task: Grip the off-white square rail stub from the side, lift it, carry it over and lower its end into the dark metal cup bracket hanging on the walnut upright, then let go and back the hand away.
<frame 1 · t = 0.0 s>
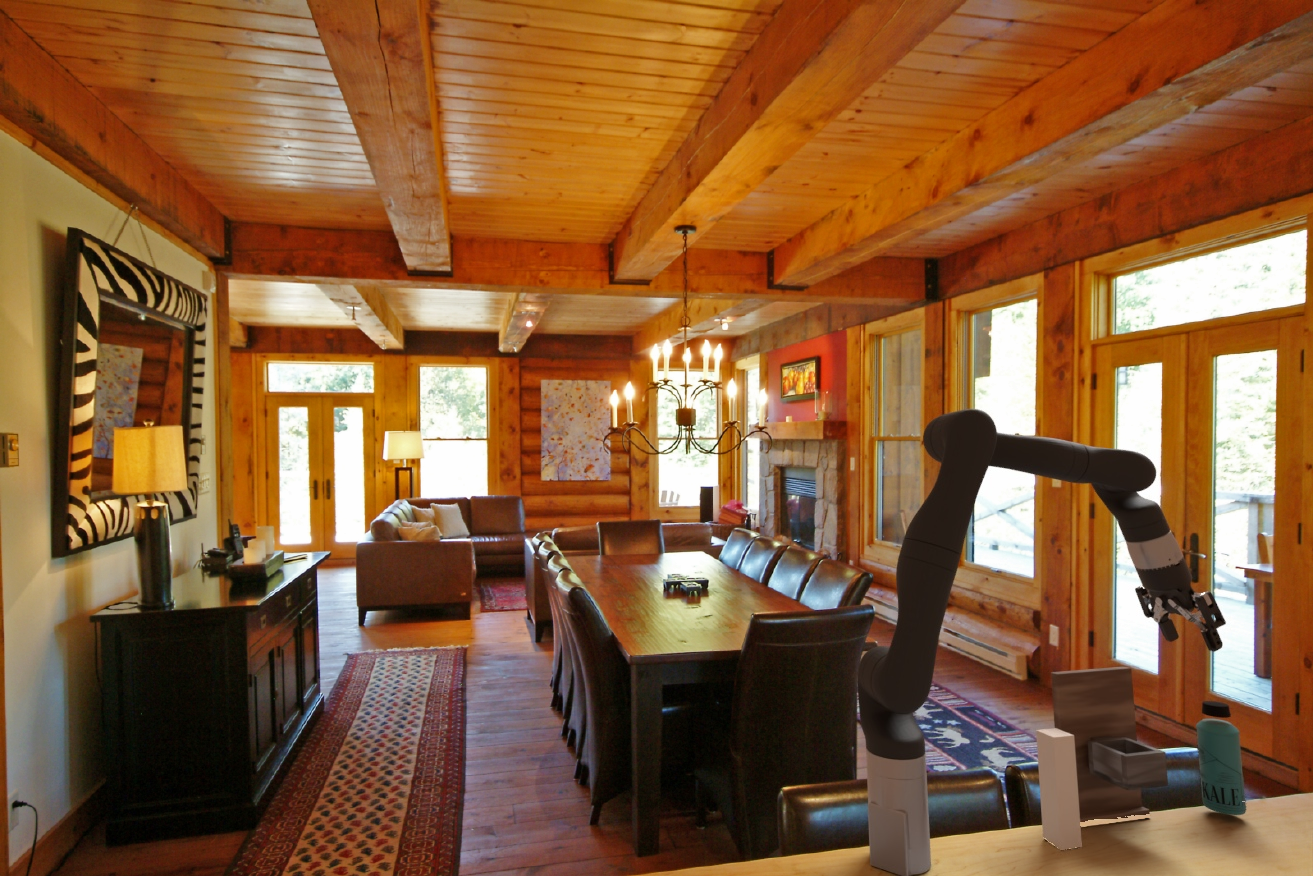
hand: (1194, 644, 125), 31 cm above the counter, tool tilted 20°, fingers open, 8 cm apart
cup bracket: (1132, 833, 122), on the counter
beverage bottle: (1225, 818, 127), on the counter
rail stub: (1062, 843, 119), on the counter
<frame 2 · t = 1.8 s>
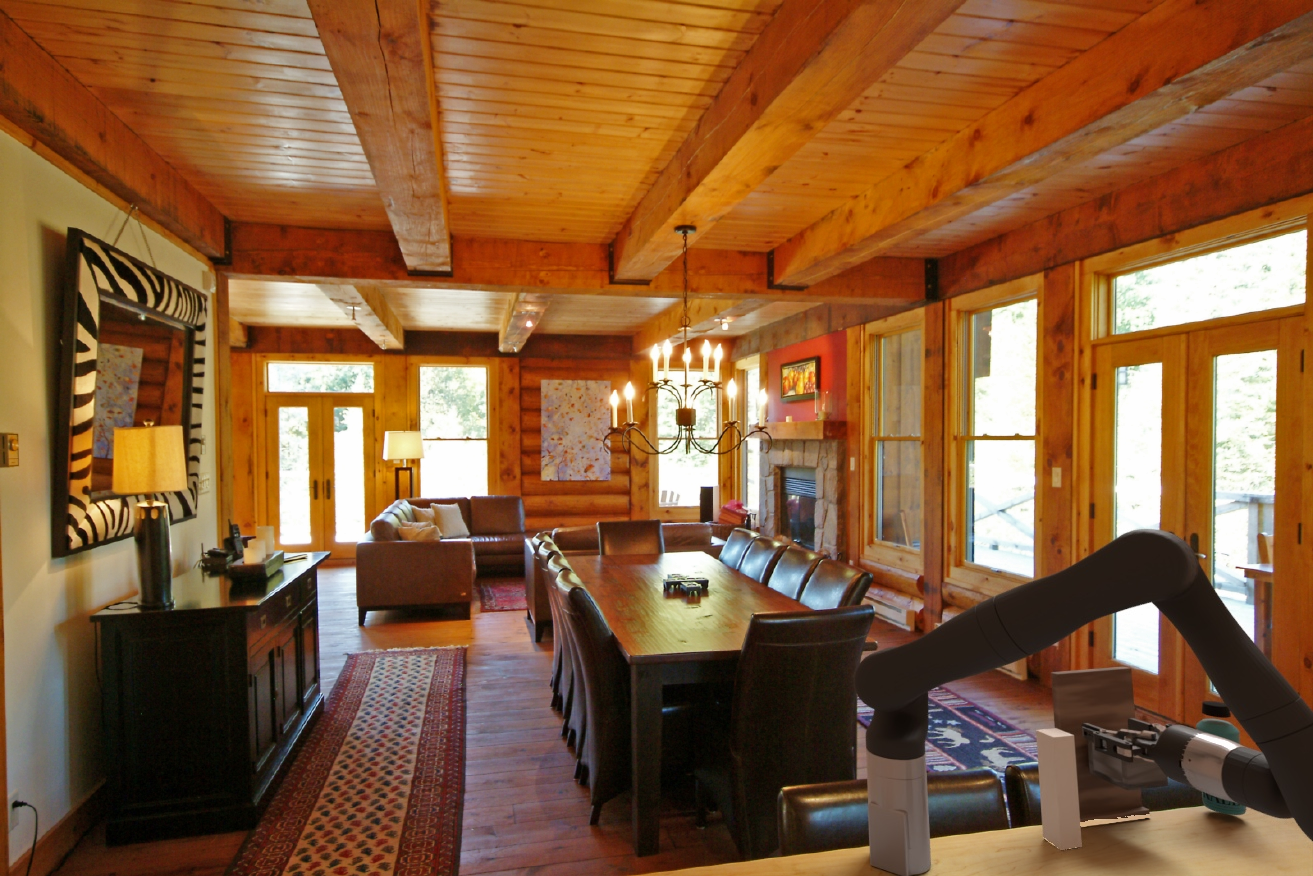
hand: (1106, 727, 110), 22 cm above the counter, tool horizontal, fingers open, 8 cm apart
nothing on the counter moved.
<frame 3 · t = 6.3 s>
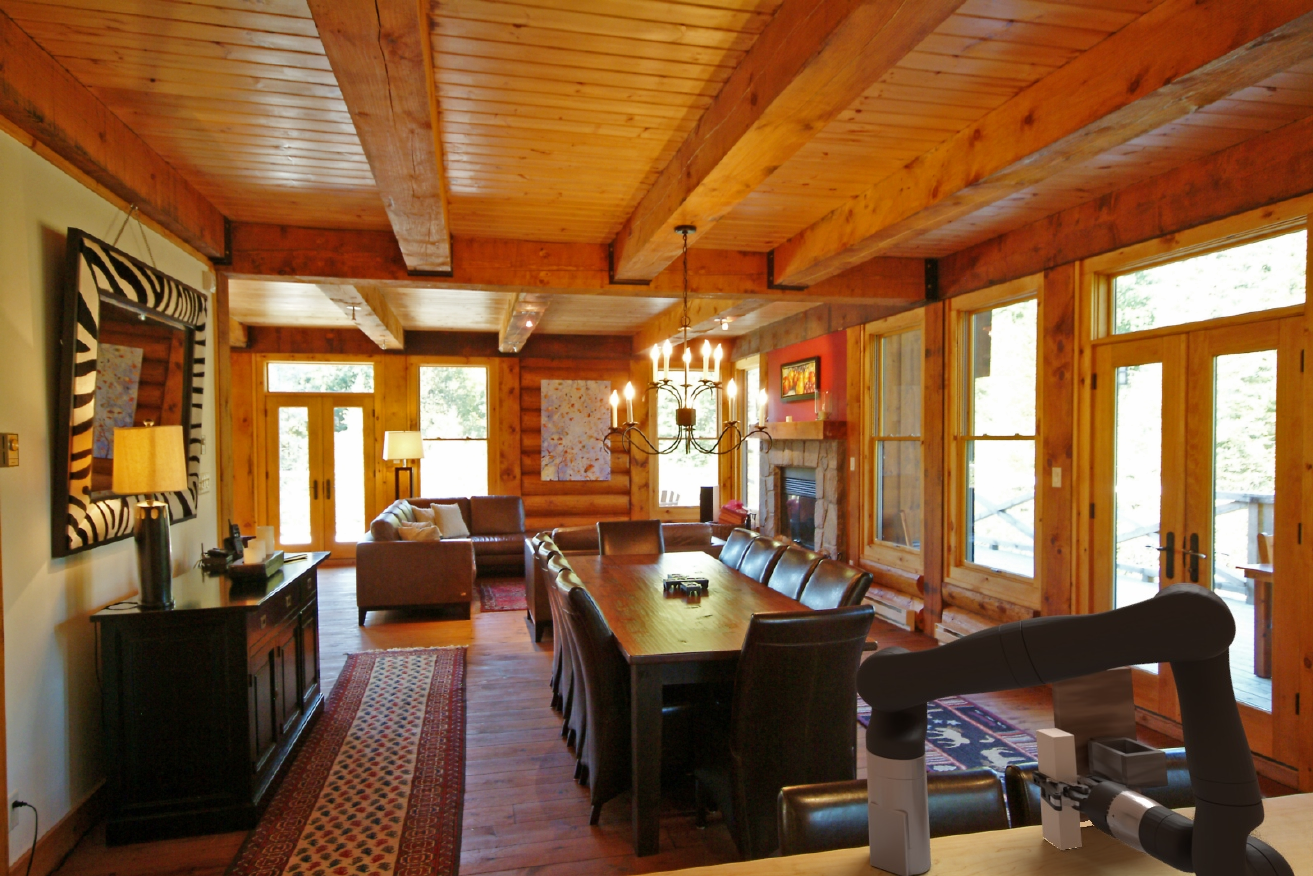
hand: (1045, 775, 122), 10 cm above the counter, tool horizontal, fingers closed on rail stub, 4 cm apart
rail stub: (1062, 843, 119), on the counter, touching gripper
everything else where it was.
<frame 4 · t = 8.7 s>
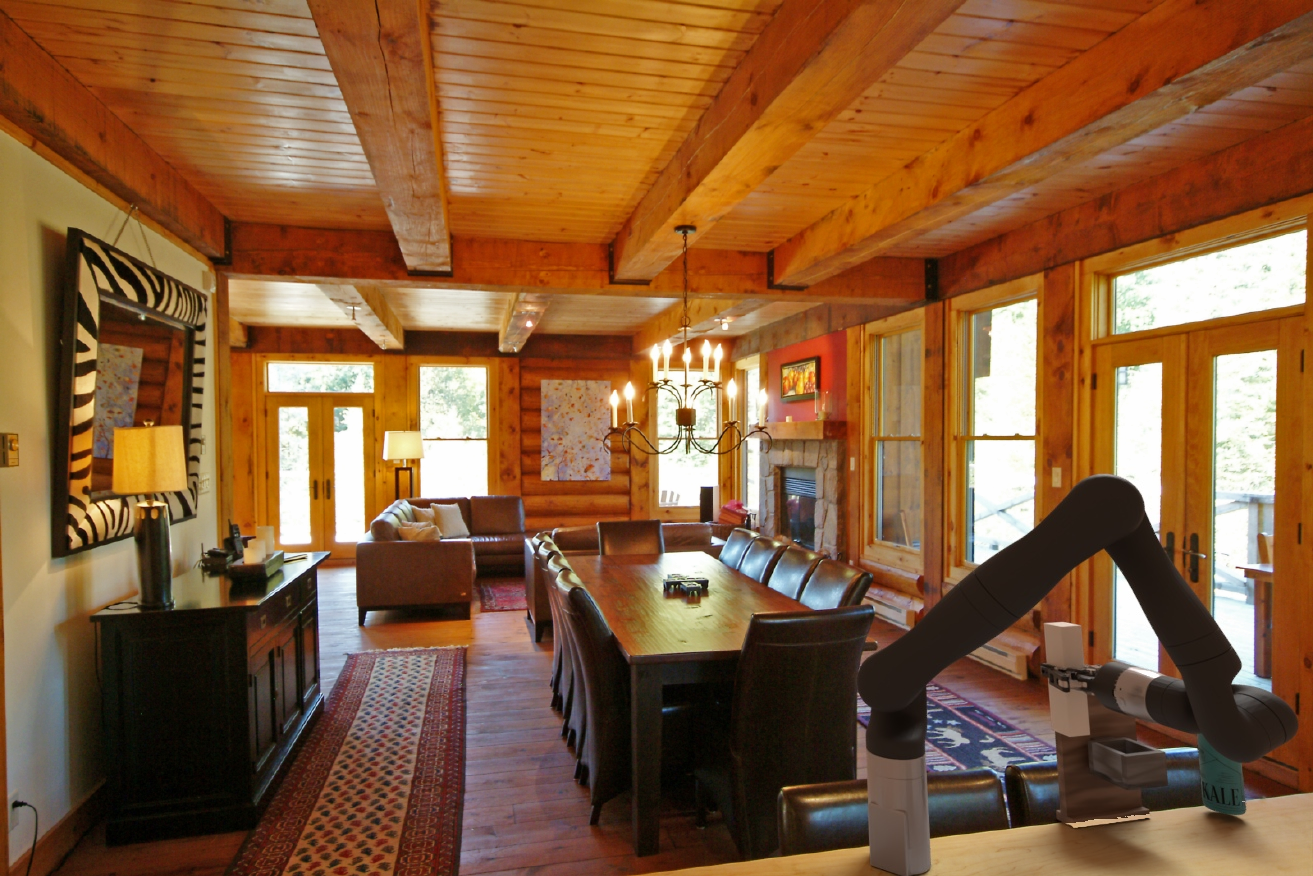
hand: (1053, 668, 124), 28 cm above the counter, tool horizontal, fingers closed on rail stub, 4 cm apart
rail stub: (1070, 732, 120), point 18 cm above the counter, touching gripper
everything else where it was.
when the fingers open (21 cm above the counter, at t = 11.4 s): rail stub drops 1 cm, resting on cup bracket.
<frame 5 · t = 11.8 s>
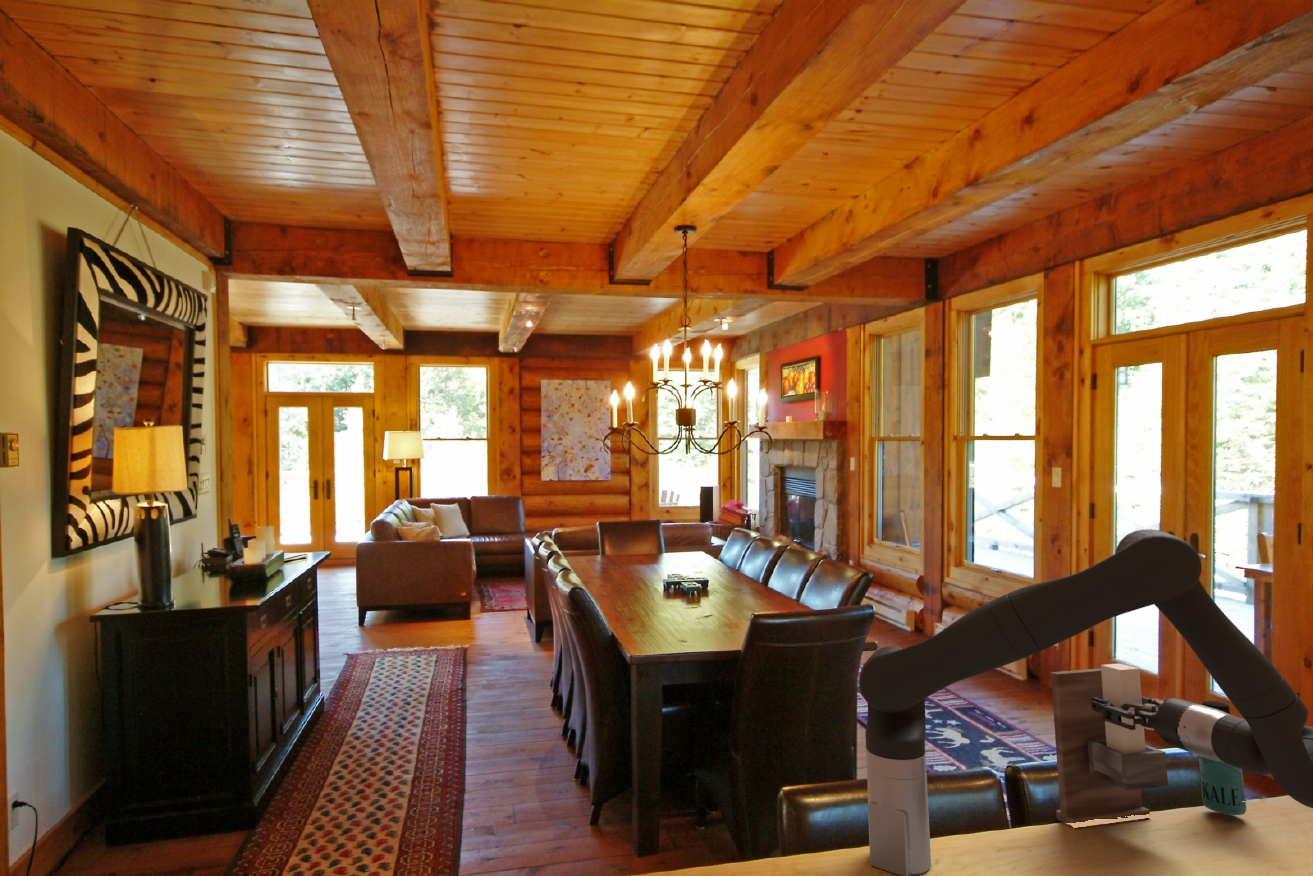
hand: (1112, 701, 126), 21 cm above the counter, tool horizontal, fingers open, 7 cm apart
rail stub: (1127, 773, 122), point 10 cm above the counter, touching cup bracket
everything else where it was.
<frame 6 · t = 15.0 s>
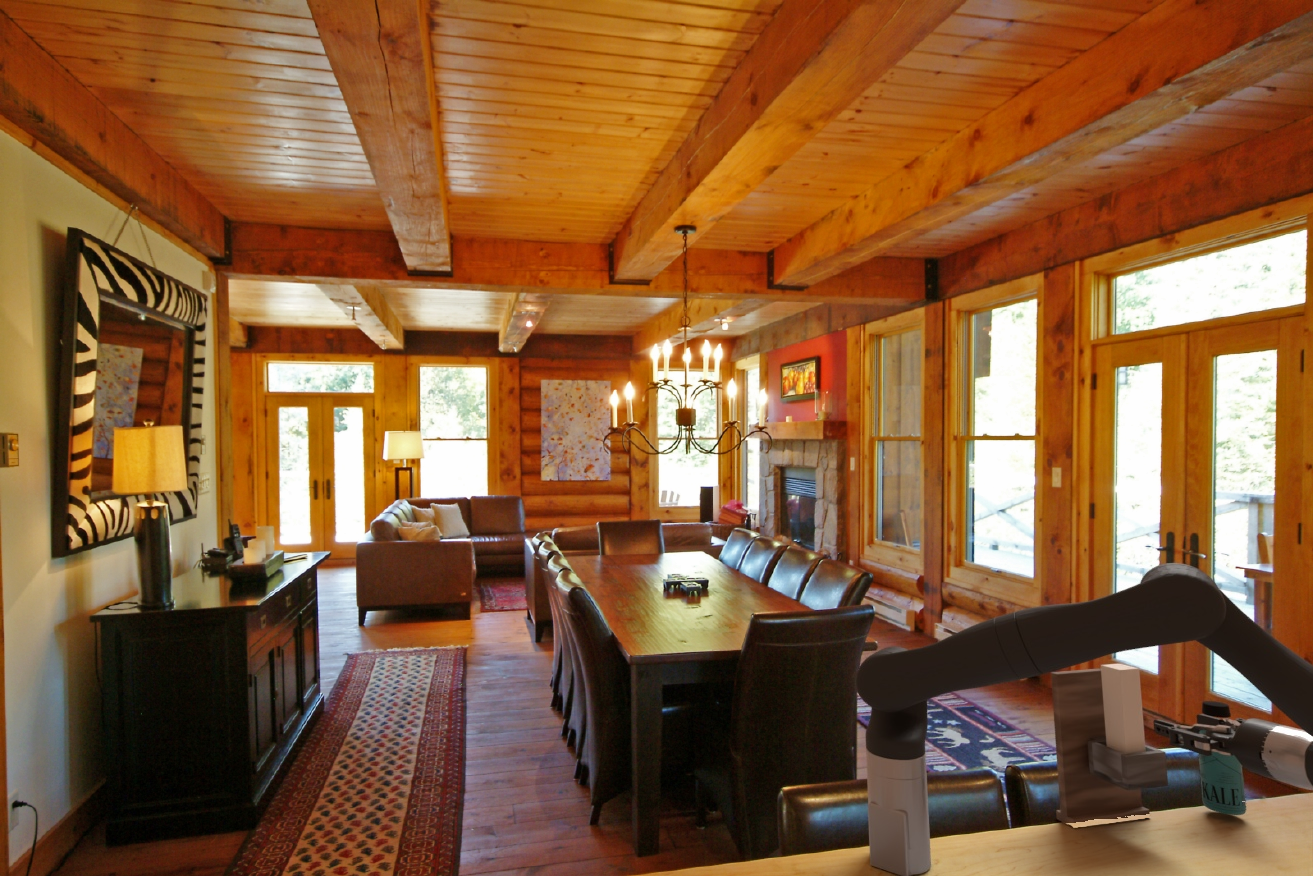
hand: (1177, 723, 113), 21 cm above the counter, tool horizontal, fingers open, 8 cm apart
nothing on the counter moved.
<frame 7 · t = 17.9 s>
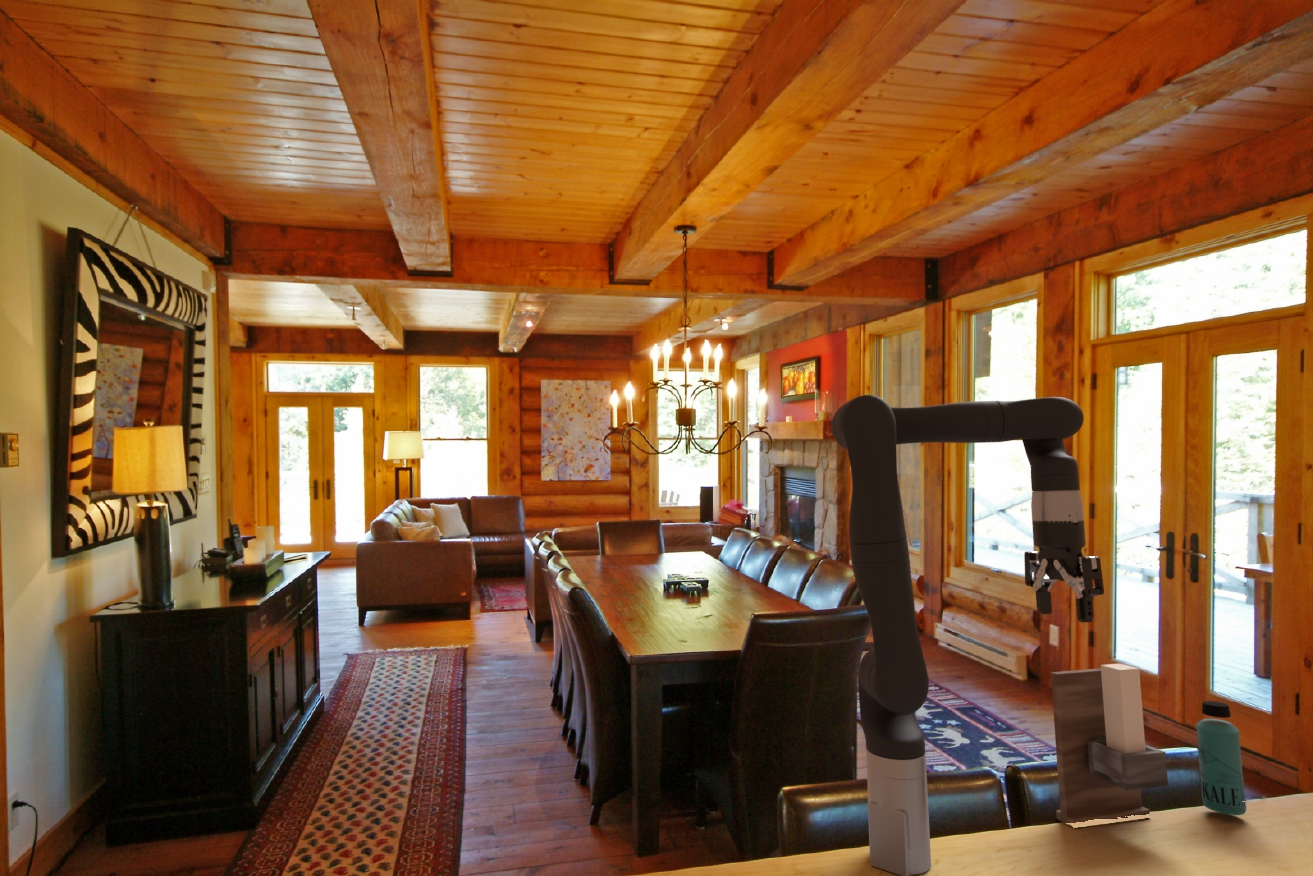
hand: (1064, 617, 116), 38 cm above the counter, tool pointing down, fingers open, 8 cm apart
nothing on the counter moved.
at the end: rail stub 0.0 cm off-centre on the cup bracket, point 10.0 cm above the cup bracket's base; rail stub tilted 0°; the gripper is holding nothing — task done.
